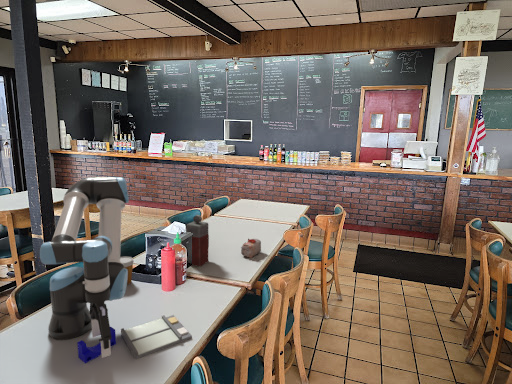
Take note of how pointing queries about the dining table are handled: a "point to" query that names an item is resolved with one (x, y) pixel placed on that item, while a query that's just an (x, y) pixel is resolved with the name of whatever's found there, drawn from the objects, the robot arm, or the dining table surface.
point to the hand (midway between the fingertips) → (101, 345)
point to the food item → (251, 248)
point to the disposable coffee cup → (128, 266)
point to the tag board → (155, 336)
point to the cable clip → (93, 348)
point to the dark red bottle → (199, 240)
